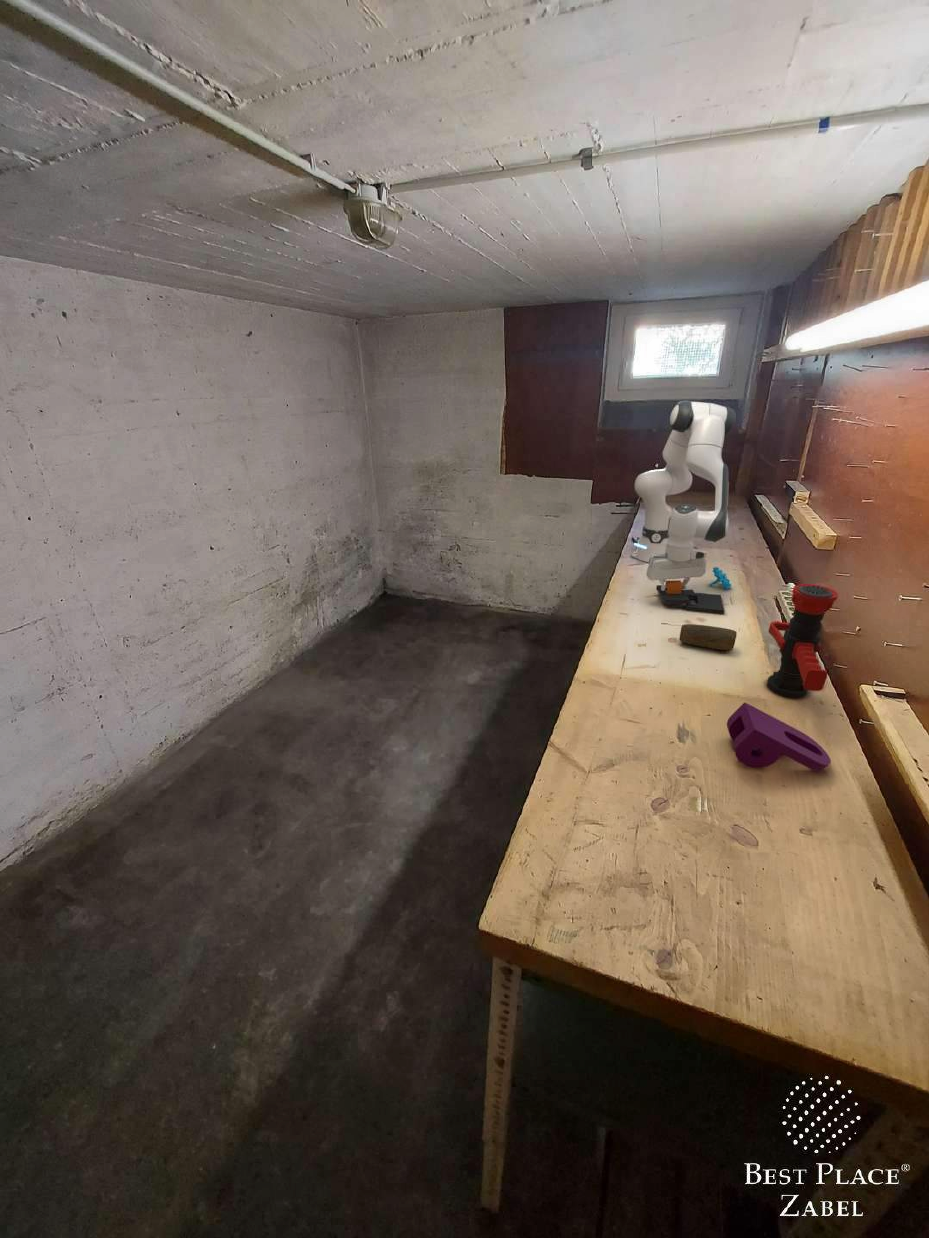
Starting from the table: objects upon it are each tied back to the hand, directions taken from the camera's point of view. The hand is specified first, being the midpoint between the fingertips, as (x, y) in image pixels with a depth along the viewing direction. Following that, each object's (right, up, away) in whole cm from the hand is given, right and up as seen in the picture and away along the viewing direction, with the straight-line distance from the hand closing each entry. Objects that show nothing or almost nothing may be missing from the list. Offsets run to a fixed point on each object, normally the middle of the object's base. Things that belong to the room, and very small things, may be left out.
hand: (673, 589), depth 173 cm
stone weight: (-2, -19, -28) cm, 34 cm away
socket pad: (+10, -5, -1) cm, 12 cm away
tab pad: (+2, -2, +1) cm, 3 cm away
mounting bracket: (-9, -40, -71) cm, 82 cm away
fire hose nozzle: (+7, -30, -50) cm, 59 cm away
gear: (+23, +2, +12) cm, 26 cm away
